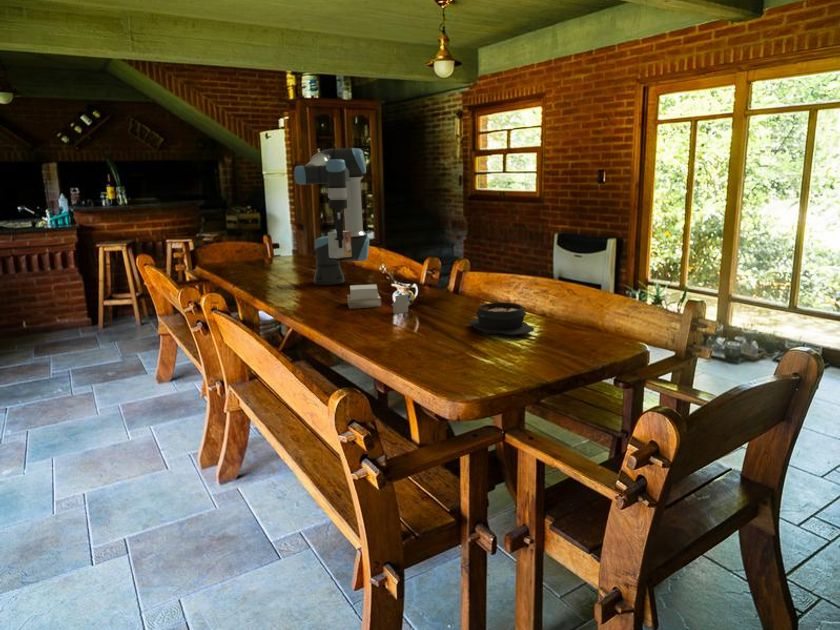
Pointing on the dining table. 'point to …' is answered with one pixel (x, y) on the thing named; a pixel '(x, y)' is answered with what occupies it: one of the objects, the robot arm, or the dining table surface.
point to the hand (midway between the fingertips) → (340, 254)
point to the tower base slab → (363, 302)
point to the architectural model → (400, 304)
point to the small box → (333, 244)
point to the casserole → (501, 319)
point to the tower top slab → (363, 291)
